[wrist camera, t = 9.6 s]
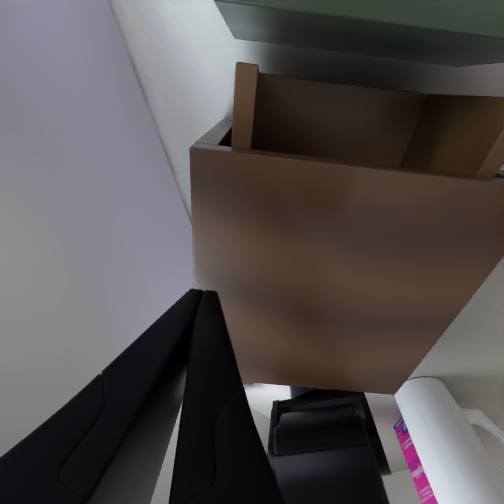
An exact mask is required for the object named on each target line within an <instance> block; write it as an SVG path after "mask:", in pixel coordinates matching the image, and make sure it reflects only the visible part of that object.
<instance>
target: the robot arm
mask: <svg viewBox="0 0 504 504" xmlns="http://www.w3.org/2000/svg"><path fill="white" fill-rule="evenodd" d="M290 393H291V399H288V400H282V401H279V400H276V401H273V407H272V410H271V422H270V431H269V441H268V453H267V454H266V452H265V450H264V447H263V445H262V442H261V439H260V436H259V434H258V431H257V428H256V426H255V423H254V420H253V417H252V413H251V410H250V407H249V404H248V400H247V397H246V393H245V389H244V387H243V383H242V379H241V375H240V372H239V368H238V364H237V361H236V357H235V354H234V350H233V346H232V343H231V339H230V335H229V332H228V328H227V324H226V321H225V317H224V313H223V310H222V306H221V302H220V299H219V295H218V292H217V291H213V290H205V291H203V290H202V289H190V290H189V291H188V292H186V293H185V294H184V295H183V296H182V297H181V298H180V299H179V300H178V301H177V302H176V303H175V304H174V305H172V306H171V307H170V308H169V309H168V310H167V311H166V312H165V313H164V314H163V315H162V316H161V317H160V318H159V319H157V320H156V321H155V322H154V323H153V324H152V325H151V326H150V327H149V328H148V329H147V330H146V331H145V332H144V333H142V334H141V335H140V336H139V337H138V338H137V339H136V340H135V341H134V342H133V343H132V344H131V345H130V346H129V347H127V348H126V349H125V350H124V352H122V353H121V354H120V355H119V356H118V357H117V358H116V359H115V360H114V361H112V362H111V364H109V365H108V366H107V367H106V368H105V369H104V370H103V371H102V374H98V375H97V376H96V377H95V378H94V379H93V380H92V381H91V382H90V383H89V384H88V385H86V387H84V388H83V389H82V390H81V391H80V392H79V393H78V394H77V395H75V396H74V397H73V398H72V399H71V400H70V401H69V402H68V403H66V404H65V405H64V406H63V407H62V408H61V409H59V410H58V411H57V412H56V413H55V414H53V415H52V416H51V417H50V418H49V419H47V420H46V421H45V422H44V423H43V424H41V425H40V426H39V427H38V428H37V429H35V430H34V431H33V432H32V433H31V434H29V435H28V436H27V437H25V438H24V439H23V440H22V441H20V442H19V443H18V444H17V445H15V446H14V447H13V448H12V449H10V450H9V451H8V452H7V453H5V454H4V455H3V456H1V457H0V504H150V502H151V499H152V496H153V493H154V489H155V486H156V483H157V480H158V477H159V474H160V470H161V467H162V464H163V461H164V458H165V454H166V451H167V448H168V445H169V441H170V438H171V435H172V432H173V429H174V426H175V423H176V419H177V416H178V413H179V410H180V406H181V403H182V400H183V403H182V411H181V417H180V424H179V432H178V439H177V446H176V453H175V461H174V468H173V475H172V483H171V490H170V497H169V504H390V502H389V499H388V496H387V493H386V489H385V486H384V483H383V480H382V476H384V475H391V471H390V468H389V465H388V462H387V459H386V456H385V453H384V450H383V447H382V443H381V440H380V437H379V435H378V432H377V429H376V426H375V423H374V420H373V417H372V414H371V411H370V408H369V405H368V403H367V400H366V397H365V394H364V392H356V391H344V390H333V389H321V388H310V387H298V386H290ZM365 417H366V418H365Z"/></svg>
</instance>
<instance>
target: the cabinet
mask: <svg viewBox="0 0 504 504" xmlns="http://www.w3.org/2000/svg"><path fill="white" fill-rule="evenodd" d="M232 125H233V121H232V120H224V119H223V120H222V121H220V122H219V123H218V124H217V125H215V126H214V127H213V128H212V129H211V130H209V131H208V132H207V133H206V134H205V135H203V136H202V137H201V138H200V139H199V140H198V141H196V142H195V144H193V145H192V146H191V147H190V180H191V214H192V246H193V276H194V277H193V278H194V289H202V290H203V291H205V290H213V291H217V292H218V295H219V299H220V302H221V306H222V310H223V313H224V317H225V321H226V324H227V328H228V332H229V335H230V339H231V343H232V346H233V350H234V354H235V357H236V361H237V364H238V368H239V372H240V375H241V379H242V382H253V383H264V384H275V385H287V386H298V387H310V388H321V389H333V390H344V391H356V392H367V393H379V394H390V395H395V394H396V393H397V392H398V390H399V389H400V388H401V386H402V385H403V384H404V383H405V381H406V380H407V379H408V378H409V376H410V375H411V374H412V372H413V371H414V370H415V369H416V367H417V366H418V365H419V364H420V362H421V361H422V360H423V358H424V357H425V356H426V355H427V353H428V352H429V351H430V350H431V348H432V347H433V346H434V344H435V343H436V342H437V341H438V339H439V338H440V337H441V336H442V334H443V333H444V332H445V330H446V329H447V328H448V327H449V325H450V324H451V323H452V322H453V320H454V319H455V318H456V316H457V315H458V314H459V313H460V311H461V310H462V309H463V307H464V306H465V305H466V304H467V302H468V301H469V300H470V299H471V297H472V296H473V295H474V293H475V292H476V291H477V290H478V288H479V287H480V286H481V285H482V283H483V282H484V281H485V279H486V278H487V277H488V276H489V274H490V273H491V272H492V271H493V269H494V268H495V267H496V265H497V264H498V263H499V262H500V260H501V259H502V258H503V257H504V171H502V170H499V171H498V173H497V174H496V176H495V178H494V177H486V176H477V175H468V174H460V173H451V172H442V171H434V170H425V169H417V168H408V167H399V166H391V165H382V164H373V163H365V162H356V161H347V160H339V159H330V158H322V157H313V156H304V155H296V154H287V153H278V152H270V151H261V150H253V149H244V148H235V147H231V143H232Z"/></svg>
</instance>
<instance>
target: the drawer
mask: <svg viewBox="0 0 504 504" xmlns="http://www.w3.org/2000/svg"><path fill="white" fill-rule="evenodd" d="M214 2H215V4H216V5H217V7H218V9H219V11H220V13H221V15H222V16H223V18H224V20H225V22H226V24H227V25H228V27H229V29H230V31H231V33H232V35H233V36H234V38H235V39H242V40H250V41H258V42H265V43H273V44H281V45H289V46H296V47H304V48H312V49H320V50H327V51H335V52H343V53H351V54H358V55H366V56H374V57H382V58H389V59H397V60H405V61H412V62H420V63H428V64H436V65H443V66H451V67H464V66H474V65H484V64H494V63H504V0H214ZM231 147H235V148H244V149H253V150H261V151H270V152H278V153H287V154H296V155H304V156H313V157H322V158H330V159H339V160H347V161H356V162H365V163H373V164H382V165H391V166H399V167H408V168H417V169H425V170H434V171H442V172H451V173H460V174H468V175H477V176H486V177H494V178H495V176H496V174H497V173H498V171H499V170H500V168H501V167H502V165H503V163H504V97H491V96H467V95H444V94H426V93H418V92H410V91H402V90H394V89H386V88H378V87H370V86H362V85H355V84H347V83H339V82H331V81H323V80H315V79H307V78H299V77H291V76H283V75H275V74H267V73H259V66H258V65H257V64H251V63H243V62H237V63H236V70H235V88H234V106H233V125H232V143H231Z"/></svg>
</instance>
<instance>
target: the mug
mask: <svg viewBox="0 0 504 504" xmlns="http://www.w3.org/2000/svg"><path fill="white" fill-rule="evenodd" d="M394 396H395V399H396V401H397V404H398V406H399V409H400V412H401V414H402V417H403V419H404V422H405V424H406V427H407V429H408V431H409V434H410V436H411V439H412V441H413V444H414V446H415V449H416V451H417V453H418V456H419V458H420V461H421V463H422V466H423V468H424V471H425V473H426V476H427V478H428V481H429V483H430V486H431V488H432V490H433V493H434V495H435V498H436V500H437V502H438V504H504V476H503V474H502V473H501V471H500V470H499V468H498V467H497V465H496V464H495V462H494V460H493V459H492V457H491V456H490V454H489V453H488V451H487V450H486V448H485V447H484V445H483V443H482V442H481V440H480V439H479V437H478V436H477V434H476V433H475V431H474V429H473V428H472V426H471V424H476V425H479V426H481V427H482V428H484V429H486V430H487V431H488V432H490V433H491V434H492V435H493V436H495V437H496V438H497V439H498V440H499V441H500V443H501V444H502V445H503V446H504V432H503V431H502V430H501V429H500V428H499V427H498V426H497V425H496V424H495V423H494V422H492V421H491V420H490V419H489V418H488V417H487V416H486V415H485V414H484V413H483V412H482V411H480V410H479V409H464V408H461V407H459V406H458V404H457V403H456V401H455V400H454V398H453V397H452V395H451V394H450V392H449V391H448V389H447V388H446V386H445V385H444V383H443V382H442V381H440V380H438V379H436V378H431V377H420V378H414V379H411V380H408V381H405V383H404V384H403V385H402V386H401V388H400V389H399V390H398V392H397V393H396V394H395V395H394Z"/></svg>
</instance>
